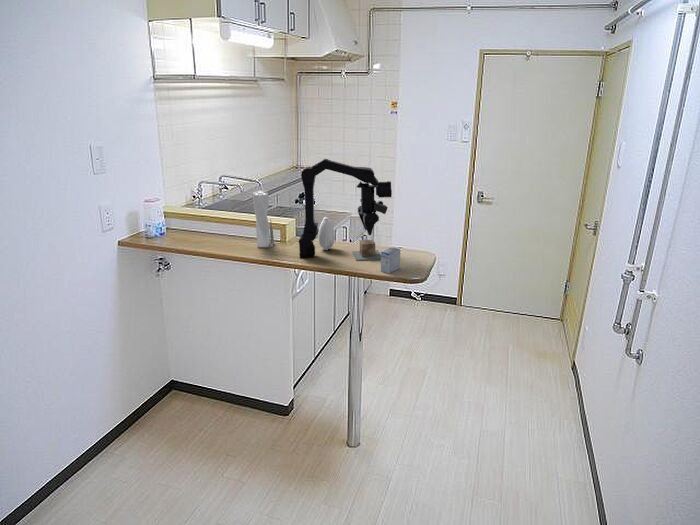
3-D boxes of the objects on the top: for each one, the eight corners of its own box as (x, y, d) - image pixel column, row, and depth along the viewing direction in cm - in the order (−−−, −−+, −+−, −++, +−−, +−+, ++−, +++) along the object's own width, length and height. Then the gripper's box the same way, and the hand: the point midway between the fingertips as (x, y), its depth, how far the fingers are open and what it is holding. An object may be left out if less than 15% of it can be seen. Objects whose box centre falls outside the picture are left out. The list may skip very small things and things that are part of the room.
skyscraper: (271, 248, 238) (267, 190, 229) (254, 248, 238) (250, 190, 229) (274, 243, 246) (270, 186, 237) (258, 243, 246) (253, 186, 237)
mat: (356, 260, 219) (356, 259, 219) (352, 252, 231) (352, 251, 230) (383, 259, 221) (383, 258, 221) (377, 251, 232) (377, 249, 232)
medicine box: (391, 266, 212) (391, 246, 209) (400, 268, 209) (400, 248, 207) (380, 271, 206) (380, 251, 204) (389, 273, 204) (389, 253, 201)
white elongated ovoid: (333, 252, 231) (332, 214, 225) (316, 251, 233) (315, 213, 227) (336, 247, 238) (336, 210, 233) (320, 246, 240) (319, 209, 234)
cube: (362, 257, 222) (361, 244, 220) (359, 253, 228) (359, 240, 226) (375, 256, 223) (375, 243, 221) (372, 252, 229) (372, 239, 227)
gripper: (390, 201, 209) (390, 237, 215) (381, 192, 227) (381, 226, 232) (364, 202, 208) (364, 238, 213) (357, 193, 225) (357, 227, 230)
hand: (367, 232), depth 222 cm, fingers open, 9 cm apart
